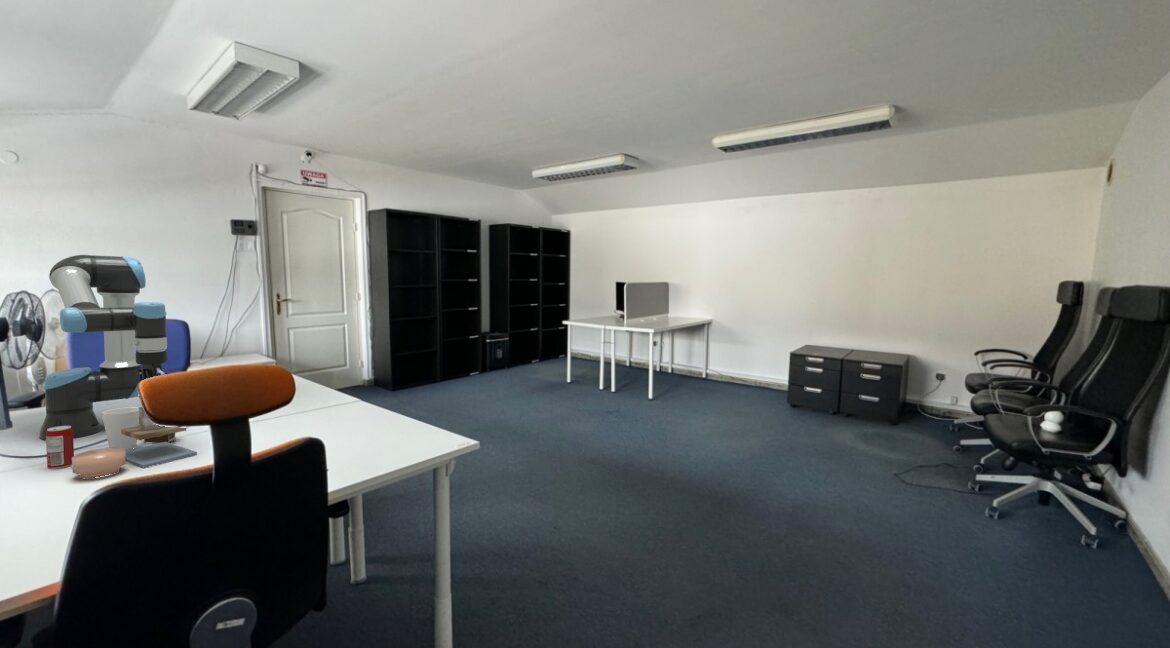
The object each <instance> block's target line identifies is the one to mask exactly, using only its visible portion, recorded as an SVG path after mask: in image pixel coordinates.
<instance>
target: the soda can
mask: <svg viewBox="0 0 1170 648" xmlns="http://www.w3.org/2000/svg"><path fill="white" fill-rule="evenodd" d="M74 443H75V442H74V438H73V430H72V428H71V426H58V427H52V428H49V429H47V432H46V440H45V446H46V447H45V448H46V464H47V465H46V467H47V468H48V469H51V470H58V469H57V468H60V469H64V468H63V467H65V468H68V467H71V466H72V457H73V456H75V448H74V447H75V446H74ZM70 465H71V466H70ZM67 466H68V467H67Z"/></svg>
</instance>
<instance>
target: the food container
mask: <svg viewBox="0 0 1170 648" xmlns="http://www.w3.org/2000/svg"><path fill="white" fill-rule="evenodd" d="M175 441H176V433H172V434H167V435H162V436H158V437H153V438H148V439H143V443H146V442H152V443H151V444H157V443H161V442H168V443H171V444H174V442H175Z"/></svg>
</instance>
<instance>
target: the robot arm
mask: <svg viewBox="0 0 1170 648" xmlns="http://www.w3.org/2000/svg"><path fill="white" fill-rule="evenodd" d="M48 277H49V281H50V284H51V285H52V286H53V287H54V288H56V289H57V290H58V294H59V295H60V298H61V301H62V303H63V306H64V308H61V310H60V311H59V324H60V329H61V330H62V331H63V332H64V333H77V334H81V333H82V334H83V333H95V332H96V333H97V332H99V333H100V332H103V337H104V340H103V341H104V361H103V362H101V363H100V365H98V367H99V370H93V369H92V368H91V367H88V366H86V367H74V368H68V369H64V370H63V369H62V370H58V371H54V372H51V373H48V374H47V376H45V377H44V386H43V389H44V390H45V391H44V393H45V395H44V397H45V418H44V420H43V423H42V425H41V428H40V430H39V439H41V440H45V441H46V432H47V429H49V428H52V427H58V426H71V428H72V430H73V439H75V438H79V437H80V438H81V437H86V436H90V435H93V434H96V433H99V432H100V431H101V430H102V429H101V422H100V421H99V419H98V417H97V415H96V413H95V411H94V403H100V402H109V401H117V400H129V399H133V398H137V397H139V398H140V396H138V392H137V385H138V382H140V381H141V380H144V379H146V378H150V377H153V376H158V375H163V374H167V375H168V372H167V371H164V370H163V368H162V364H165V363H166V362H168V352H167V350H168V349H167V348H168V338H167V310H166V305H165V303H163V302H151V301H148V302H147V301H146V302H145V301H144V302H136V303H135V301H136V299H135V298H136V297H137V296H138V295H139V294H141V292H140V290H142V289H145V288H146V282H147V281H146V274H145V271H144V267H143V265H142V263H141V261H140V260H139V259H137V258H135V257H130V256H115V255H113V256H112V255H94V254H93V255H90V254H78V255H77V254H76V255H72V256H68V257H66V258H63V259H61V260H60V261H58V262H56V263H55V264H54V265H53V266H52V267H51V269H50V270H49V274H48ZM92 288H95V289H96V293H97V294H98V295H100V296H101V297H102V303H103V304H102V307H101V306H100V304H99V302H98V299H97V298H96V295H95V293H94V291H93V289H92ZM152 425H156V424H154V423H153V422H152Z"/></svg>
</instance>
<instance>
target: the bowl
mask: <svg viewBox="0 0 1170 648" xmlns="http://www.w3.org/2000/svg"><path fill="white" fill-rule="evenodd" d="M126 464H127V462H126V454H125V449H124V448H109V447H106V448H105V447H104V448H96V449H92V450H87V451H83V452H80V453H77V454H74V456H73V457H72V465H71V467H72V474H74V475H80V477H81V478H85V479H84V480H88V479H87V478H95V477H100V476H105V475H109V474H113V475H115V474H114V473H116V474H118V473H119V472H120V468H121V467H123V466H125V465H126ZM117 472H118V473H117ZM81 478H80V479H81Z"/></svg>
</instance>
